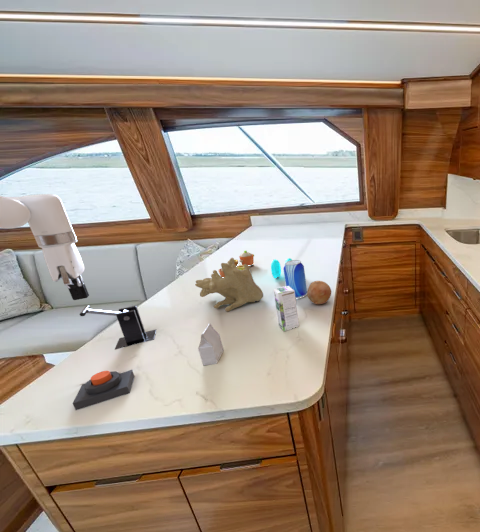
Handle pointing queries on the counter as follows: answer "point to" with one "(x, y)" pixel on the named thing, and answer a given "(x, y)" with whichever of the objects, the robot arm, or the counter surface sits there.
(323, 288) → the coconut
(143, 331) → the bracket
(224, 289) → the decorative coral
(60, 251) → the robot arm
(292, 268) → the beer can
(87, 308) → the lever
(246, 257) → the toy tea set
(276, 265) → the cyan lobed shape
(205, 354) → the pale grey crystal
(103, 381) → the button
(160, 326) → the counter surface
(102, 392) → the control block
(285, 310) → the syrup box
